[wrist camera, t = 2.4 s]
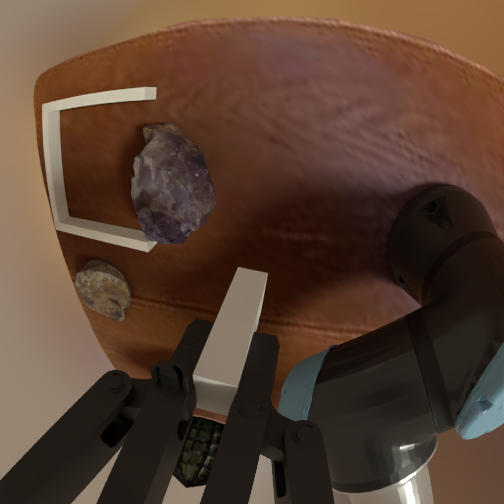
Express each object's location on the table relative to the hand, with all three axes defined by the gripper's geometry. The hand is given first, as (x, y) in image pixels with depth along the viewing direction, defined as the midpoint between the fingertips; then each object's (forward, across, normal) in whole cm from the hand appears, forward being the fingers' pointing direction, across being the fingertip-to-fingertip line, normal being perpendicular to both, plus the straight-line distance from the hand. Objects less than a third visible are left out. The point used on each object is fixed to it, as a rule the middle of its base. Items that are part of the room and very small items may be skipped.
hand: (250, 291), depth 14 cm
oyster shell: (+19, +27, +23) cm, 40 cm away
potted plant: (+18, +4, +38) cm, 42 cm away
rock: (+19, +11, 0) cm, 22 cm away
